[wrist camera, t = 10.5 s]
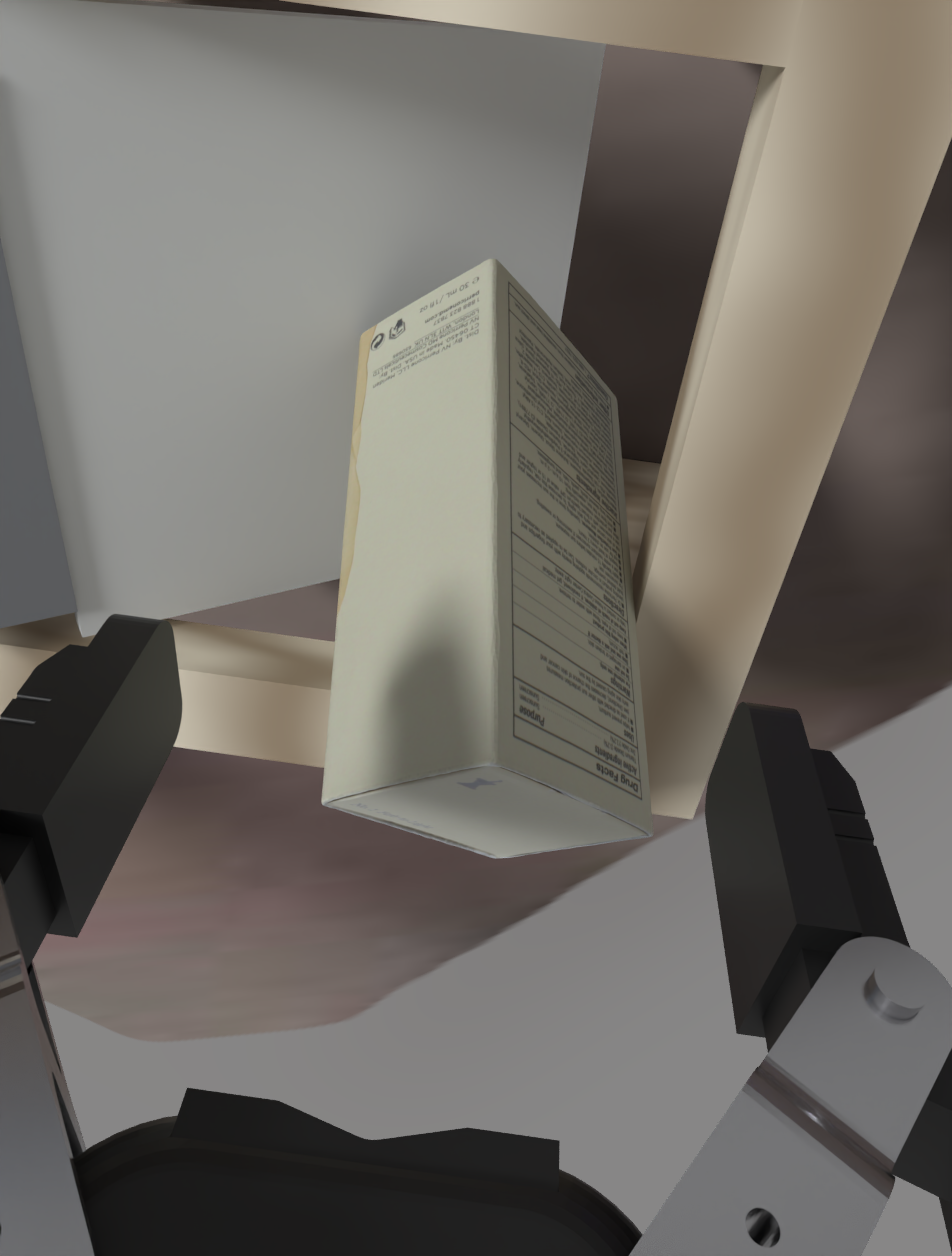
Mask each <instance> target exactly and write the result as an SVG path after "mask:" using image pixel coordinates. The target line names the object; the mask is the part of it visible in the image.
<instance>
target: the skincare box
mask: <svg viewBox="0 0 952 1256" xmlns="http://www.w3.org/2000/svg"><path fill="white" fill-rule="evenodd" d="M322 805H324V806H327V807H330V808H334V809H338V810H340V811H344V812H347V813H350V814H353V815H355V816H360V817H363V818H366V819H369V820H372V821H375V822H379V823H383V824H386V825H389V826H391V827H395V828H398V829H401V830H404V831H407V832H411V833H415V834H418V835H421V836H424V837H426V838H432V839H434V840H437V841H441V842H444V843H446V844H449V845H452V846H457V847H460V848H463V849H466V850H470V851H473V852H475V853H478V854H481V855H485V856H488V857H490V858H510V857H517V856H523V855H527V854H535V853H541V852H548V851H556V850H560V849H570V848H575V847H583V846H591V845H598V844H603V843H610V842H616V841H625V840H631V839H640V838H647V837H652V836H653V823H652V811H651V800H650V788H649V775H648V762H647V751H646V739H645V728H644V717H643V705H642V693H641V681H640V669H639V657H638V645H637V633H636V621H635V609H634V597H633V585H632V573H631V561H630V549H629V537H628V524H627V513H626V503H625V491H624V478H623V466H622V454H621V442H620V429H619V417H618V404H617V399H616V397H615V395H614V394H613V393H612V392H611V390H610V389H609V388H608V386H607V385H606V384H605V383H604V382H603V381H602V379H601V378H600V377H599V375H598V374H597V373H596V372H595V370H594V369H593V368H592V367H591V366H590V364H589V363H588V362H587V361H586V360H585V358H584V357H583V356H582V355H581V354H580V352H579V351H578V350H577V349H576V348H575V347H574V346H573V345H572V343H571V342H570V341H569V340H568V339H567V337H566V336H565V335H564V334H563V333H562V332H561V330H560V329H559V328H558V327H557V326H556V324H555V323H554V322H553V321H552V320H551V319H550V317H549V316H548V315H547V314H546V313H545V311H544V310H543V309H542V308H541V307H540V306H539V305H538V303H537V302H536V301H535V300H534V299H533V298H532V296H531V295H530V294H529V293H528V292H527V291H526V290H525V289H524V288H523V287H522V286H521V285H520V284H519V283H518V281H517V280H516V279H515V278H514V277H513V276H512V275H511V274H510V273H509V272H508V271H507V269H506V268H505V267H504V266H503V265H502V264H501V263H500V262H499V261H498V260H497V259H488V260H486V261H484V262H482V263H481V264H479V265H477V266H476V267H474V268H472V269H470V270H468V271H467V272H465V273H463V274H461V275H460V276H458V277H456V278H454V279H453V280H451V281H449V282H447V283H445V284H443V285H442V286H440V287H438V288H437V289H435V290H433V291H432V292H430V293H428V294H426V295H425V296H423V297H421V298H419V299H418V300H416V301H414V302H413V303H411V304H409V305H408V306H406V307H404V308H402V309H401V310H399V311H397V312H396V313H394V314H393V315H391V316H389V317H387V318H386V319H384V320H383V321H381V322H380V323H378V324H376V325H375V326H373V327H372V328H370V329H368V330H367V331H365V332H364V333H362V335H361V337H360V342H359V358H358V370H357V382H356V394H355V405H354V416H353V430H352V440H351V452H350V465H349V477H348V489H347V500H346V512H345V523H344V534H343V547H342V560H341V573H340V584H339V596H338V610H337V622H336V635H335V647H334V658H333V670H332V682H331V694H330V707H329V718H328V731H327V743H326V753H325V767H324V779H323V789H322Z"/></svg>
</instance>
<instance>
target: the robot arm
mask: <svg viewBox="0 0 952 1256" xmlns="http://www.w3.org/2000/svg"><path fill="white" fill-rule="evenodd" d="M181 718H182V694H181V687H180V679H179V671H178V663H177V655H176V648H175V640H174V633H173V628H172V626H171V624H170V623H169V622H168V621H166V620H159V619H151V618H144V617H137V616H130V615H122V614H113V615H111V616H110V617H108V619H107V620H106V621H105V622H104V624H103V625H102V627H101V628H100V630H99V631H98V633H97V634H96V635H95V637H94V638H93V640H92V641H91V643H90V644H89V645H88V647H87V646H80V645H73V644H69V645H68V646H66V647H65V648H63V649H62V650H60V651H59V652H57V653H56V654H54V655H53V656H51V657H50V658H48V659H47V660H45V661H44V662H42V663H41V664H39V665H38V666H37V667H36V668H35V669H34V671H33V672H32V673H31V675H30V676H29V678H28V679H27V680H26V682H25V683H24V684H23V686H22V687H21V688H20V690H19V691H18V692H17V697H16V699H12V700H11V702H10V703H9V704H8V706H7V707H6V708H5V710H4V711H3V712H2V714H1V715H0V1256H861V1255H862V1253H863V1251H864V1249H865V1247H866V1245H867V1243H868V1241H869V1239H870V1236H871V1235H872V1233H873V1230H874V1229H875V1227H876V1224H877V1222H878V1220H879V1218H880V1216H881V1214H882V1212H883V1210H884V1208H885V1206H886V1204H887V1201H888V1199H889V1197H890V1195H891V1192H892V1189H893V1186H894V1183H895V1177H894V1176H893V1175H895V1176H897V1177H899V1178H901V1179H903V1180H905V1181H907V1182H909V1183H911V1184H914V1185H915V1186H918V1187H920V1188H922V1189H924V1190H926V1191H928V1192H930V1193H932V1194H934V1195H936V1196H938V1197H939V1200H940V1203H941V1208H942V1212H943V1216H944V1220H945V1224H946V1229H947V1234H948V1238H949V1242H950V1246H951V1251H952V987H951V986H950V984H949V983H948V981H947V980H946V978H945V977H944V976H943V975H942V974H941V973H940V972H939V970H938V969H937V968H936V967H935V966H934V965H933V964H932V963H931V962H930V961H928V960H927V959H926V958H924V957H923V956H922V955H920V954H919V953H918V952H916V951H914V950H912V949H911V948H910V946H909V943H908V941H907V938H906V935H905V932H904V928H903V925H902V923H901V920H900V916H899V913H898V911H897V907H896V904H895V901H894V898H893V895H892V892H891V889H890V886H889V883H888V880H887V877H886V874H885V871H884V868H883V865H882V862H881V859H880V856H879V853H878V850H877V847H876V846H874V845H873V841H874V837H873V835H872V832H871V828H870V826H869V823H868V820H867V819H865V810H864V807H863V804H862V801H861V798H860V795H859V792H858V789H857V786H856V783H855V781H854V780H853V778H852V777H851V776H850V775H849V773H848V772H847V771H846V770H845V768H844V767H843V766H842V765H841V763H840V762H839V761H838V760H837V758H836V757H835V756H834V755H833V754H832V752H831V751H824V750H817V749H810V747H809V743H808V740H807V736H806V733H805V729H804V726H803V722H802V719H801V716H800V714H799V712H798V711H797V710H795V709H790V708H782V707H775V706H768V705H761V704H753V703H746V702H742V703H740V704H739V705H738V707H737V708H736V710H735V712H734V715H733V718H732V720H731V723H730V725H729V728H728V731H727V733H726V736H725V738H724V741H723V744H722V746H721V749H720V752H719V754H718V757H717V759H716V762H715V765H714V767H713V770H712V773H711V775H710V778H709V782H708V787H707V793H706V804H705V816H706V825H707V832H708V838H709V846H710V853H711V859H712V866H713V873H714V879H715V887H716V894H717V901H718V908H719V914H720V921H721V928H722V934H723V942H724V948H725V956H726V963H727V969H728V976H729V983H730V990H731V997H732V1003H733V1011H734V1018H735V1024H736V1031H737V1033H738V1034H743V1035H751V1036H758V1037H765V1038H766V1042H767V1049H768V1054H767V1056H766V1057H765V1059H764V1060H763V1062H762V1063H761V1065H760V1066H759V1067H757V1068H756V1070H755V1071H754V1072H753V1074H752V1075H751V1076H750V1078H749V1079H748V1081H747V1082H746V1084H745V1085H744V1087H743V1088H742V1089H741V1091H740V1092H739V1094H738V1095H737V1097H736V1098H735V1100H734V1101H733V1103H732V1104H731V1106H730V1107H729V1109H728V1110H727V1112H726V1113H725V1115H724V1116H723V1118H722V1119H721V1120H720V1122H719V1124H718V1125H717V1126H716V1128H715V1129H714V1131H713V1132H712V1134H711V1135H710V1137H709V1138H708V1140H707V1141H706V1142H705V1144H704V1145H703V1147H702V1148H701V1150H700V1151H699V1153H698V1154H697V1156H696V1157H695V1159H694V1160H693V1162H692V1163H691V1165H690V1166H689V1168H688V1169H687V1171H686V1172H685V1173H684V1175H683V1176H682V1178H681V1180H680V1181H679V1182H678V1184H677V1185H676V1187H675V1188H674V1190H673V1191H672V1193H671V1194H670V1196H669V1197H668V1199H667V1200H666V1201H665V1203H664V1204H663V1206H662V1207H661V1209H660V1210H659V1212H658V1213H657V1215H656V1216H655V1218H654V1219H653V1221H652V1222H651V1224H650V1225H649V1227H648V1228H647V1229H646V1231H645V1233H644V1234H643V1235H642V1234H641V1232H640V1231H639V1230H638V1228H637V1227H636V1226H635V1225H634V1223H633V1222H632V1221H631V1220H630V1219H629V1218H628V1217H627V1216H626V1215H624V1213H623V1212H622V1211H621V1210H620V1209H619V1208H617V1206H615V1204H613V1203H612V1202H611V1201H609V1200H608V1199H607V1198H606V1197H604V1196H603V1195H602V1194H601V1193H599V1192H598V1191H597V1190H596V1189H594V1188H592V1187H591V1186H589V1185H588V1184H586V1183H585V1182H583V1181H581V1180H579V1179H578V1178H576V1177H575V1176H573V1175H571V1174H569V1173H566V1172H564V1171H562V1170H560V1169H559V1141H557V1140H550V1139H543V1138H536V1137H529V1136H522V1135H515V1134H508V1133H501V1132H493V1131H487V1130H480V1129H473V1128H462V1129H455V1130H448V1131H440V1132H433V1133H426V1134H418V1135H411V1136H403V1137H396V1138H389V1139H381V1140H368V1139H363V1138H360V1137H358V1136H355V1135H353V1134H351V1133H349V1132H346V1131H344V1130H342V1129H340V1128H338V1127H335V1126H333V1125H331V1124H329V1123H326V1122H324V1121H322V1120H320V1119H318V1118H315V1117H313V1116H311V1115H309V1114H307V1113H304V1112H302V1111H300V1110H298V1109H295V1108H293V1107H291V1106H289V1105H287V1104H284V1103H282V1102H280V1101H276V1100H269V1099H262V1098H255V1097H248V1096H241V1095H234V1094H227V1093H220V1092H212V1091H206V1090H199V1089H192V1088H187V1090H186V1093H185V1096H184V1099H183V1102H182V1105H181V1108H180V1111H179V1114H178V1116H172V1117H165V1118H161V1119H157V1120H153V1121H150V1122H146V1123H142V1124H139V1125H137V1126H134V1127H131V1128H129V1129H126V1130H124V1131H121V1132H119V1133H116V1134H114V1135H112V1136H110V1137H109V1138H107V1139H105V1140H103V1141H101V1142H99V1143H97V1144H95V1145H93V1146H92V1147H90V1148H89V1149H87V1150H86V1147H85V1143H84V1140H83V1137H82V1133H81V1130H80V1126H79V1123H78V1120H77V1117H76V1114H75V1111H74V1108H73V1104H72V1101H71V1097H70V1094H69V1091H68V1087H67V1083H66V1080H65V1076H64V1072H63V1069H62V1065H61V1061H60V1058H59V1054H58V1050H57V1047H56V1043H55V1039H54V1036H53V1032H52V1028H51V1025H50V1021H49V1018H48V1014H47V1010H46V1006H45V1003H44V999H43V995H42V992H41V988H40V984H39V981H38V977H37V973H36V970H35V966H34V963H33V958H34V956H35V954H36V952H37V950H38V949H39V947H40V945H41V943H42V941H43V939H44V937H45V936H46V934H47V933H48V934H55V935H62V936H69V937H76V938H77V937H78V935H79V933H80V931H81V929H82V927H83V925H84V923H85V921H86V919H87V917H88V915H89V913H90V911H91V909H92V907H93V905H94V903H95V901H96V899H97V897H98V895H99V893H100V891H101V889H102V887H103V885H104V883H105V881H106V880H107V878H108V876H109V874H110V872H111V870H112V868H113V866H114V864H115V862H116V860H117V858H118V856H119V854H120V852H121V850H122V848H123V846H124V844H125V842H126V840H127V838H128V836H129V834H130V832H131V830H132V828H133V826H134V824H135V822H136V820H137V818H138V816H139V814H140V812H141V810H142V808H143V806H144V804H145V802H146V800H147V798H148V796H149V794H150V792H151V790H152V788H153V786H154V784H155V782H156V780H157V778H158V776H159V774H160V772H161V770H162V768H163V766H164V764H165V762H166V760H167V758H168V756H169V754H170V752H171V750H172V748H173V746H174V744H175V741H176V739H177V736H178V733H179V729H180V724H181ZM892 1174H893V1175H892Z"/></svg>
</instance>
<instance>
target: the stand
mask: <svg viewBox="0 0 952 1256" xmlns="http://www.w3.org/2000/svg"><path fill="white" fill-rule="evenodd" d="M281 1H289V2H296V3H304V4H311V5H319V6H326V7H334V8H341V9H349V10H356V11H364V12H371V13H379V14H386V15H394V16H401V17H409V18H416V19H424V20H431V21H439V22H447V23H454V24H462V25H469V26H477V27H484V28H492V29H499V30H507V31H514V32H522V33H529V34H537V35H544V36H552V37H559V38H567V39H574V40H582V41H589V42H597V43H605V44H612V45H620V46H627V47H635V48H642V49H650V50H657V51H665V52H672V53H680V54H687V55H695V56H702V57H710V58H717V59H725V60H732V61H740V62H747V63H755V64H763V67H762V71H761V74H760V78H759V82H758V86H757V90H756V94H755V98H754V102H753V106H752V110H751V114H750V118H749V122H748V125H747V129H746V133H745V137H744V141H743V145H742V149H741V153H740V157H739V161H738V165H737V169H736V172H735V176H734V180H733V184H732V188H731V192H730V196H729V200H728V204H727V208H726V212H725V216H724V220H723V223H722V227H721V231H720V235H719V239H718V243H717V247H716V251H715V255H714V259H713V263H712V267H711V270H710V274H709V278H708V282H707V286H706V290H705V294H704V298H703V302H702V306H701V310H700V314H699V318H698V321H697V325H696V329H695V333H694V337H693V341H692V345H691V349H690V353H689V357H688V361H687V365H686V368H685V372H684V376H683V380H682V384H681V388H680V392H679V396H678V400H677V404H676V408H675V412H674V416H673V419H672V423H671V427H670V431H669V435H668V439H667V443H666V447H665V451H664V455H663V459H662V463H661V464H659V463H652V462H645V461H637V460H630V459H623V458H622V466H623V478H624V491H625V503H626V513H627V524H628V537H629V549H630V561H631V573H632V585H633V597H634V609H635V621H636V633H637V645H638V657H639V669H640V681H641V693H642V705H643V717H644V728H645V739H646V751H647V762H648V775H649V788H650V800H651V811H652V814H657V815H664V816H672V817H679V818H686V819H693V816H694V814H695V811H696V808H697V806H698V803H699V800H700V798H701V795H702V793H703V790H704V787H705V785H706V782H707V779H708V777H709V774H710V772H711V769H712V766H713V764H714V761H715V758H716V756H717V753H718V750H719V748H720V745H721V743H722V740H723V737H724V735H725V732H726V729H727V727H728V724H729V722H730V719H731V716H732V714H733V711H734V708H735V706H736V703H737V701H738V698H739V695H740V693H741V690H742V687H743V685H744V682H745V680H746V677H747V674H748V672H749V669H750V666H751V664H752V661H753V658H754V656H755V653H756V651H757V648H758V645H759V643H760V640H761V637H762V635H763V632H764V630H765V627H766V624H767V622H768V619H769V616H770V614H771V611H772V609H773V606H774V603H775V601H776V598H777V595H778V593H779V590H780V588H781V585H782V582H783V580H784V577H785V574H786V572H787V569H788V566H789V564H790V561H791V559H792V556H793V553H794V551H795V548H796V545H797V543H798V540H799V538H800V535H801V532H802V530H803V527H804V524H805V522H806V519H807V517H808V514H809V511H810V509H811V506H812V503H813V501H814V498H815V495H816V493H817V490H818V488H819V485H820V482H821V480H822V477H823V474H824V472H825V469H826V467H827V464H828V461H829V459H830V456H831V453H832V451H833V448H834V446H835V443H836V440H837V438H838V435H839V432H840V430H841V427H842V425H843V422H844V419H845V417H846V414H847V411H848V409H849V406H850V403H851V401H852V398H853V396H854V393H855V390H856V388H857V385H858V382H859V380H860V377H861V375H862V372H863V369H864V367H865V364H866V361H867V359H868V356H869V354H870V351H871V348H872V346H873V343H874V340H875V338H876V335H877V333H878V330H879V327H880V325H881V322H882V319H883V317H884V314H885V311H886V309H887V306H888V304H889V301H890V298H891V296H892V293H893V290H894V288H895V285H896V283H897V280H898V277H899V275H900V272H901V269H902V267H903V264H904V262H905V259H906V256H907V254H908V251H909V248H910V246H911V243H912V241H913V238H914V235H915V233H916V230H917V227H918V225H919V222H920V219H921V217H922V214H923V212H924V209H925V206H926V204H927V201H928V198H929V196H930V193H931V191H932V188H933V185H934V183H935V180H936V177H937V175H938V172H939V170H940V167H941V164H942V162H943V159H944V156H945V154H946V151H947V148H948V146H949V143H950V141H951V138H952V0H281ZM162 620H166V621H168V622H169V623H170V624H171V626H172V628H173V633H174V640H175V648H176V655H177V663H178V671H179V679H180V687H181V694H182V718H181V724H180V729H179V733H178V736H177V739H176V741H175V744H174V746H173V747H180V748H187V749H194V750H201V751H208V752H215V753H223V754H230V755H237V756H244V757H251V758H258V759H265V760H273V761H280V762H287V763H294V764H301V765H308V766H315V767H322V768H324V767H325V753H326V743H327V731H328V718H329V707H330V694H331V682H332V670H333V658H334V647H335V642H331V641H323V640H316V639H309V638H302V637H295V636H287V635H280V634H273V633H266V632H259V631H251V630H244V629H237V628H230V627H223V626H215V625H208V624H201V623H194V622H187V621H180V620H172V619H162ZM94 637H95V635H92V636H88V637H82V635H81V632H80V630H79V627H78V624H77V622H76V618H75V613H69V614H65V615H60V616H56V617H51V618H46V619H42V620H37V621H33V622H28V623H23V624H19V625H14V626H10V627H5V628H0V715H1V714H2V712H3V711H4V710H5V708H6V707H7V706H8V704H9V703H10V702H11V700H12V699H16V697H17V692H18V691H19V690H20V688H21V687H22V686H23V684H24V683H25V682H26V680H27V679H28V678H29V676H30V675H31V673H32V672H33V671H34V669H35V668H36V667H37V666H38V665H39V664H41V663H42V662H44V661H45V660H47V659H48V658H50V657H51V656H53V655H54V654H56V653H57V652H59V651H60V650H62V649H63V648H65V647H66V646H68V645H69V644H73V645H80V646H87V647H88V645H89V644H90V643H91V641H92V640H93V638H94Z"/></svg>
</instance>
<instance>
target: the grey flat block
mask: <svg viewBox="0 0 952 1256" xmlns="http://www.w3.org/2000/svg"><path fill="white" fill-rule="evenodd" d="M605 47H606V44H605V43H597V42H589V41H582V40H574V39H567V38H559V37H552V36H544V35H537V34H529V33H522V32H514V31H507V30H499V29H492V28H484V27H477V26H469V25H462V24H448V23H435V22H421V21H408V20H394V19H381V18H367V17H354V16H340V15H327V14H313V13H300V12H286V11H273V10H259V9H246V8H232V7H219V6H205V5H192V4H178V3H165V2H151V1H138V0H0V628H5V627H10V626H14V625H19V624H23V623H28V622H33V621H37V620H42V619H46V618H51V617H56V616H60V615H65V614H69V613H75V618H76V622H77V624H78V627H79V630H80V632H81V635H82V637H88V636H92V635H96V634H97V633H98V631H99V630H100V628H101V627H102V625H103V624H104V622H105V621H106V620H107V619H108V617H110V616H111V615H113V614H122V615H130V616H137V617H144V618H151V619H159V620H162V619H166V618H170V617H175V616H179V615H183V614H188V613H192V612H196V611H201V610H205V609H209V608H214V607H218V606H222V605H227V604H231V603H236V602H240V601H244V600H249V599H253V598H257V597H262V596H266V595H270V594H275V593H279V592H283V591H288V590H292V589H296V588H301V587H305V586H309V585H314V584H318V583H322V582H327V581H331V580H336V579H340V573H341V560H342V547H343V534H344V523H345V512H346V500H347V489H348V477H349V465H350V452H351V440H352V430H353V416H354V405H355V394H356V382H357V370H358V358H359V342H360V337H361V335H362V333H364V332H365V331H367V330H368V329H370V328H372V327H373V326H375V325H376V324H378V323H380V322H381V321H383V320H384V319H386V318H387V317H389V316H391V315H393V314H394V313H396V312H397V311H399V310H401V309H402V308H404V307H406V306H408V305H409V304H411V303H413V302H414V301H416V300H418V299H419V298H421V297H423V296H425V295H426V294H428V293H430V292H432V291H433V290H435V289H437V288H438V287H440V286H442V285H443V284H445V283H447V282H449V281H451V280H453V279H454V278H456V277H458V276H460V275H461V274H463V273H465V272H467V271H468V270H470V269H472V268H474V267H476V266H477V265H479V264H481V263H482V262H484V261H486V260H488V259H497V260H498V261H499V262H500V263H501V264H502V265H503V266H504V267H505V268H506V269H507V271H508V272H509V273H510V274H511V275H512V276H513V277H514V278H515V279H516V280H517V281H518V283H519V284H520V285H521V286H522V287H523V288H524V289H525V290H526V291H527V292H528V293H529V294H530V295H531V296H532V298H533V299H534V300H535V301H536V302H537V303H538V305H539V306H540V307H541V308H542V309H543V310H544V311H545V313H546V314H547V315H548V316H549V317H550V319H551V320H552V321H553V322H554V323H555V324H556V326H557V327H558V328H559V329H560V325H561V318H562V312H563V306H564V300H565V294H566V288H567V281H568V275H569V269H570V263H571V257H572V251H573V244H574V238H575V232H576V226H577V220H578V214H579V207H580V201H581V195H582V189H583V183H584V177H585V170H586V164H587V158H588V152H589V146H590V140H591V134H592V127H593V121H594V115H595V109H596V103H597V97H598V90H599V84H600V78H601V72H602V66H603V60H604V53H605Z"/></svg>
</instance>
